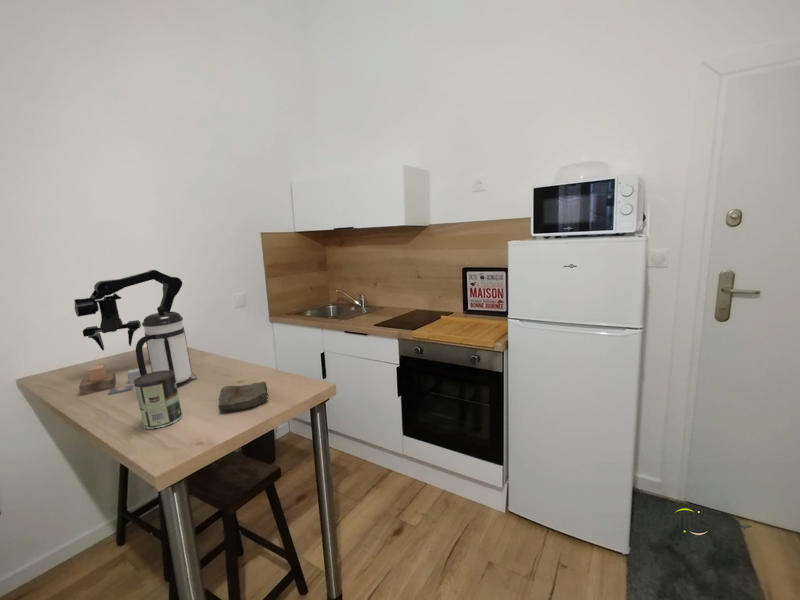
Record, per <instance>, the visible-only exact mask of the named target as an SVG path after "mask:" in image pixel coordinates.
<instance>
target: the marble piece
mask: <svg viewBox="0 0 800 600" xmlns="http://www.w3.org/2000/svg"><path fill="white" fill-rule="evenodd" d="M267 386H268V385H267V383H266V381H261V382H254V383H251V384H244V385H225V386H223V387H222V388H221V390H220V391H219V397H218V401H219V402H218V409H219V412H220V413H221V414H222V412H223V413H226V411H229V412H236V411H235V410H237V411H240V410H246V409H249V408H254V407H257V406H259V405H260V404H262V403H261V402H263V401H265V400H267V399H268V400H269V393H268V394H267V390H268V387H267ZM267 396H268V397H267ZM265 402H266V401H265ZM259 403H260V404H259ZM263 403H264V402H263ZM258 404H259V405H258ZM256 405H257V406H256Z"/></svg>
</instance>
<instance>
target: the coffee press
mask: <svg viewBox="0 0 800 600" xmlns="http://www.w3.org/2000/svg"><path fill="white" fill-rule="evenodd" d="M156 311H157V313H156V312H155V313H153V314H149V315H146V317H145V318H144V319H143V321H142V323H141V326H142V327H143V330H144V336H142V337H140V338H139V340H138V341H137V343H136V345H135V356H136V361H137V367H138V369H139V371H140V375H141V376H143V375H145V374H148V372H147V368H146V363H145V362H146V361H145V357H144V352H143V347H144V344H146V348H147V354H148V359H149V363H150V368H151V373H153V372H157V371H164V370H171V371H174V372H175V380H176V385H177V384H180V383H182V382H186V381H187V380H189V379H191V380H193V379H194V378H193V377H195V380H196V379H197V375H196V374H194V372H193V371H192V366H191V365H192V364H191V359H190V354H189V348H188V342H187V338H186V333H185V332H186V330H185V327H184V324H183V320H184V317H183V316H181V314H180V313H179V312H178V311H170V312H163V311H164V307H162V306H160V305H159V306H157V309H156ZM158 312H159V313H158ZM192 375H193V377H191V376H192ZM177 386H178V385H177Z"/></svg>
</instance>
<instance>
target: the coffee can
mask: <svg viewBox="0 0 800 600" xmlns="http://www.w3.org/2000/svg"><path fill="white" fill-rule="evenodd" d="M133 386H134V388H135V393H136V398H137V401H138V407H139V412H140V417H141V421H142V426H143V428H144V429H146V428H147V429H146V430H155V429H154V428H158V429H161V428H160V427H162V428H164V427H165V426H166V427H168V426H167V425H169V426H171V425H173V424H175V423H177V422H178V420H179V421H180V420H181V419H182V418H183V413H182V409H181V407H182V406H181V403H180V402H181V401H180V397H179V391H178V385H176V380H175V372H174V371H171V370H164V371H157V372H153V373H152V372H149V373H147V374H145V375H143V376H140V377H138V378H136V379H135V380H134V383H133ZM172 423H173V424H172ZM170 424H171V425H170ZM166 427H165V428H166Z"/></svg>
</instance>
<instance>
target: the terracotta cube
mask: <svg viewBox="0 0 800 600" xmlns="http://www.w3.org/2000/svg"><path fill="white" fill-rule="evenodd" d="M106 369H107V368H106V365H105V364H101V365H95V366H90V367H89V369H88V370H87V372H88V373H87V374H88V377H89V378H90V382H92V381H97V380H102V379H105V378H106V376H107V373H108V372H107V370H106Z"/></svg>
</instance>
